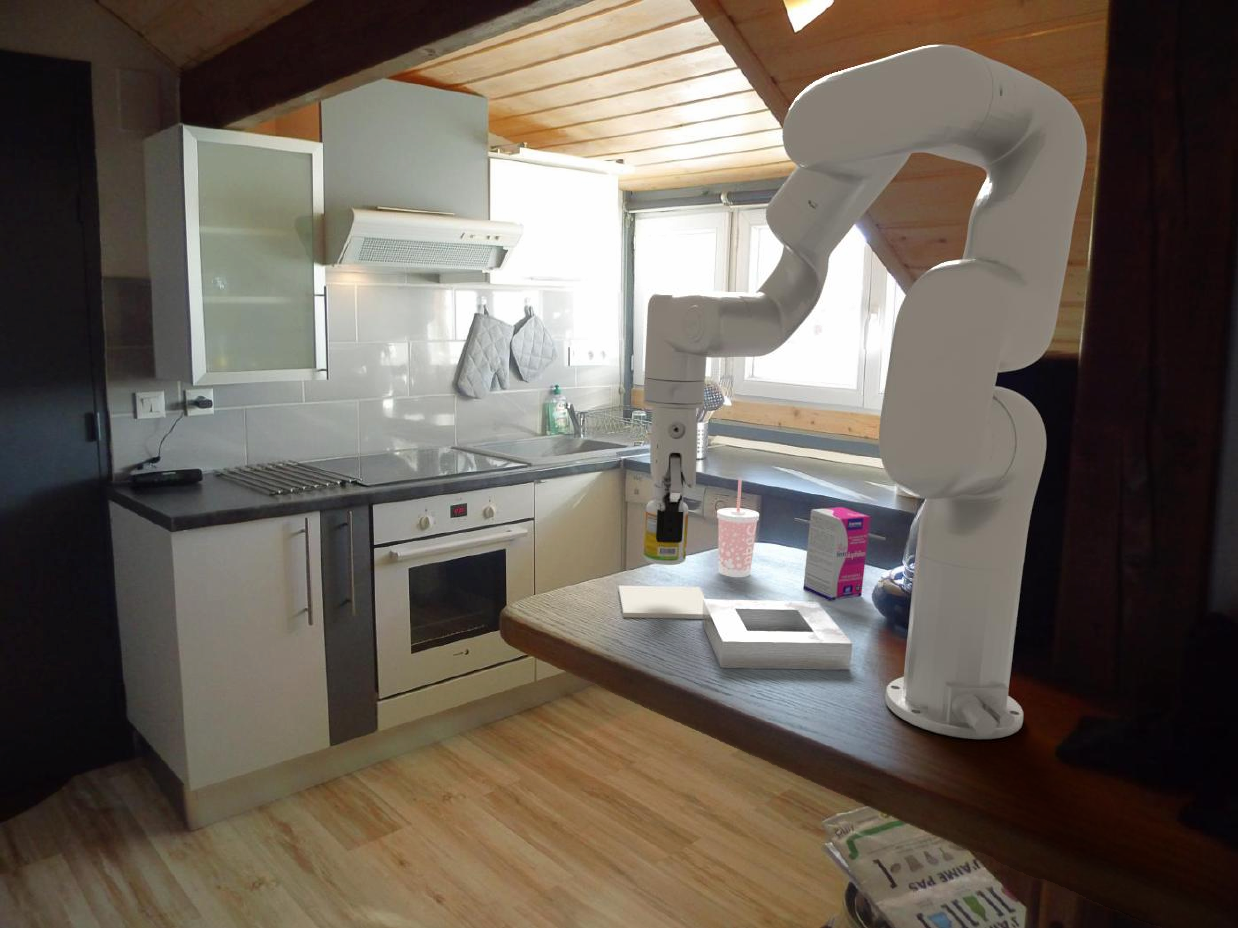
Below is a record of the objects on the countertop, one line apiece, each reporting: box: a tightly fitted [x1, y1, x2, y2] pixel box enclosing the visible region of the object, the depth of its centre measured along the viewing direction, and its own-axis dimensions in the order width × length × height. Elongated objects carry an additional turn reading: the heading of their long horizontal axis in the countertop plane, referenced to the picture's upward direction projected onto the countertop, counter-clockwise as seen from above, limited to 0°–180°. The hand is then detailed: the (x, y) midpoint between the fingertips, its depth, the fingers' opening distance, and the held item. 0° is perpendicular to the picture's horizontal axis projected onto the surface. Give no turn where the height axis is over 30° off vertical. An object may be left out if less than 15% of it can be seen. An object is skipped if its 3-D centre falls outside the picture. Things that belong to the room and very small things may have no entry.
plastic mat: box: [618, 585, 706, 620], centre depth 118 cm, size 11×11×1 cm
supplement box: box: [802, 506, 871, 602], centre depth 124 cm, size 6×6×12 cm
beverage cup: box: [716, 477, 760, 578], centre depth 132 cm, size 6×6×14 cm
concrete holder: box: [701, 598, 853, 671], centre depth 104 cm, size 14×14×3 cm
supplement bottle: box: [643, 483, 689, 566], centre depth 116 cm, size 5×5×10 cm
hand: (666, 533), depth 116 cm, fingers closed on supplement bottle, 5 cm apart
